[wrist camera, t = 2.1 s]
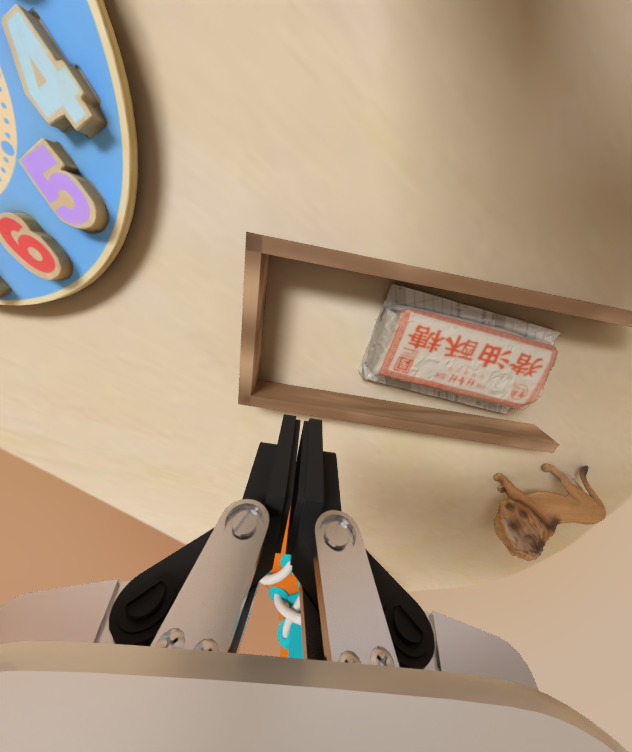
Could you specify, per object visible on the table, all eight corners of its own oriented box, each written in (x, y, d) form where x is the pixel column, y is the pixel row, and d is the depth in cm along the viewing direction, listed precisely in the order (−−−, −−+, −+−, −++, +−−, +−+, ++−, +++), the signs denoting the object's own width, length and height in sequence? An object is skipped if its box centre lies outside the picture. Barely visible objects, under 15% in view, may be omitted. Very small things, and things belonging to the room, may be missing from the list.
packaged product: (361, 394, 23) (404, 287, 19) (355, 372, 28) (388, 281, 23) (528, 433, 25) (601, 344, 21) (497, 407, 30) (552, 328, 25)
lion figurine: (472, 503, 37) (515, 573, 29) (466, 480, 35) (511, 549, 27) (583, 474, 34) (665, 544, 26) (583, 448, 32) (673, 514, 24)
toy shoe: (294, 474, 35) (279, 615, 21) (364, 543, 42) (385, 681, 28) (231, 506, 38) (183, 646, 24) (306, 565, 45) (300, 698, 31)
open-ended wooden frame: (256, 234, 21) (246, 231, 18) (618, 309, 24) (663, 317, 21) (247, 387, 28) (238, 403, 25) (529, 432, 31) (552, 453, 28)
